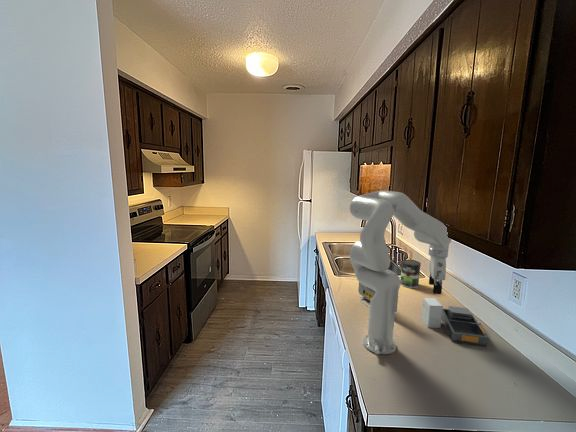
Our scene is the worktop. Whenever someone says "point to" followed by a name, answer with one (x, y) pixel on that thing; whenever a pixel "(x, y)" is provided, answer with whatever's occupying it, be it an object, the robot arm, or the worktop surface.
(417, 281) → the coffee can
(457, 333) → the rack
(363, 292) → the network device
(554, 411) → the worktop surface
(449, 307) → the module
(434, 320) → the small box
